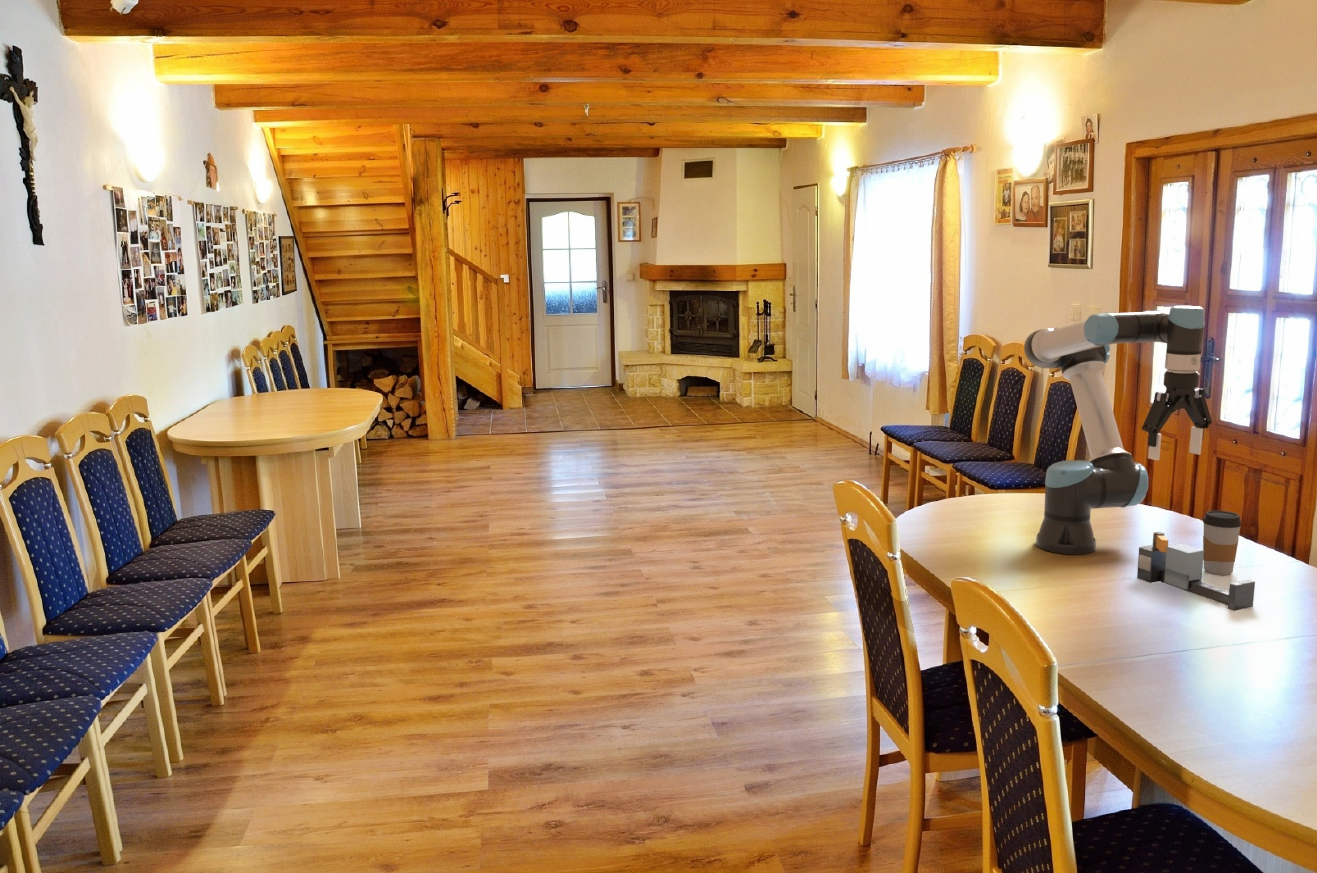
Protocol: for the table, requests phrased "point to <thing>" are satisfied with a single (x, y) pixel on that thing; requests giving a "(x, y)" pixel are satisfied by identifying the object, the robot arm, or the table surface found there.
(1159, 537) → the lever
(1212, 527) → the coffee cup
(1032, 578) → the table surface
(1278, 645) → the table surface
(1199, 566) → the block
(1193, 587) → the rail
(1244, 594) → the square post base
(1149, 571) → the end cabinet
